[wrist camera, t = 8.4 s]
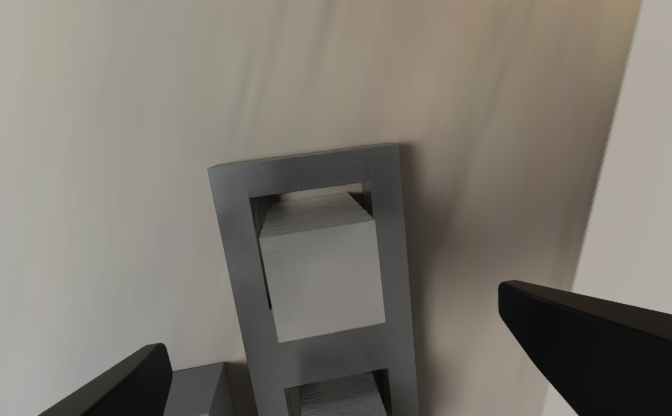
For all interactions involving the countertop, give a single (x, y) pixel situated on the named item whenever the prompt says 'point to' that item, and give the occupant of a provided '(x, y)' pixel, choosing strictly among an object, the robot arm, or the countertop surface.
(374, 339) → the rectangular frame
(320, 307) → the block
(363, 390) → the block
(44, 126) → the countertop surface
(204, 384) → the grey hollow square block
